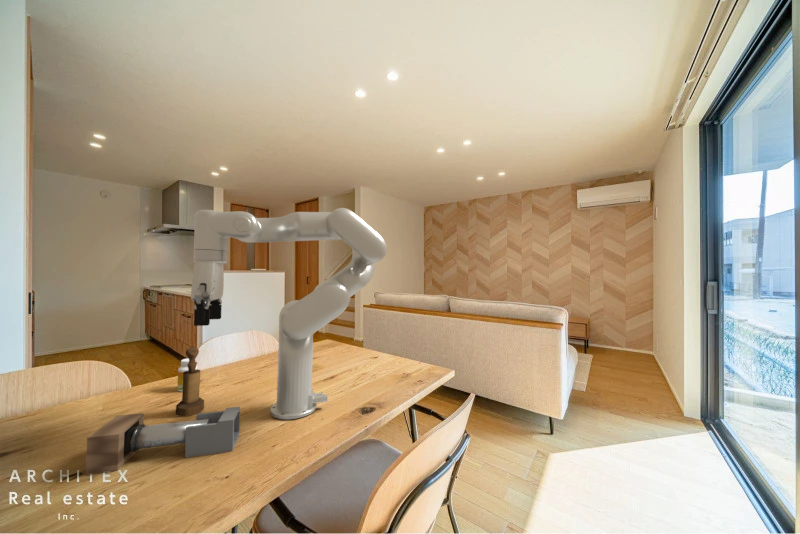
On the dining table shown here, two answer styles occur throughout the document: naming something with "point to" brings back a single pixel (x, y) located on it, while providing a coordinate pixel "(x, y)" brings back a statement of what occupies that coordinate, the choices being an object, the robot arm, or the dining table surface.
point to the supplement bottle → (180, 373)
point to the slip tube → (158, 435)
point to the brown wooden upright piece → (190, 387)
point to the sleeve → (213, 433)
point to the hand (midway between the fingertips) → (208, 322)
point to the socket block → (110, 444)
